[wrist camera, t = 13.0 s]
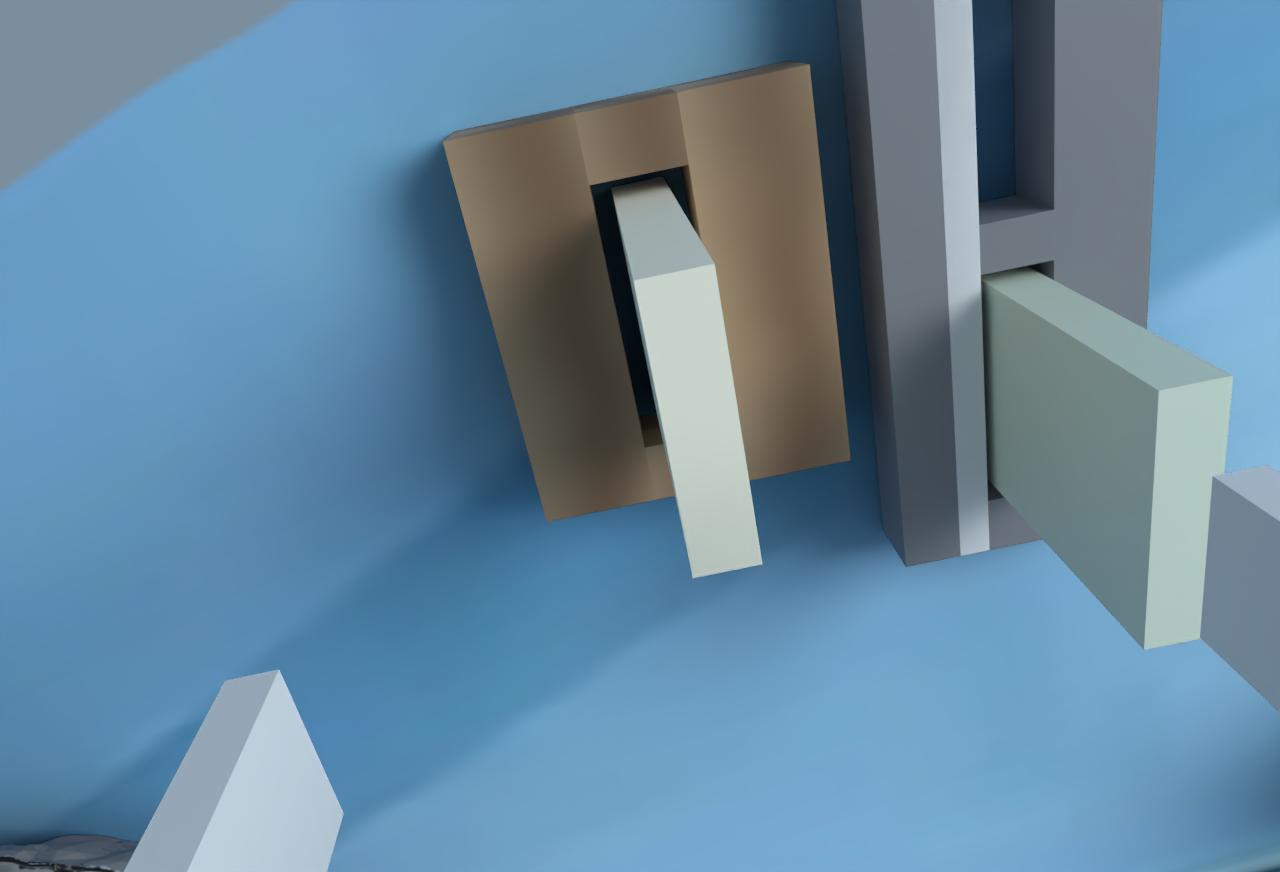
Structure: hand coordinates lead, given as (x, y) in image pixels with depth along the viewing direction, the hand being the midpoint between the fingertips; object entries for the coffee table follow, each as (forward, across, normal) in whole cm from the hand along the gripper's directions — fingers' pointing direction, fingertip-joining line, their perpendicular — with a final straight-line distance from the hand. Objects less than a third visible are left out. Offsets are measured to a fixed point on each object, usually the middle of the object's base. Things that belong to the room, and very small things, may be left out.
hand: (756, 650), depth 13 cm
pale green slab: (+18, 0, 0) cm, 18 cm away
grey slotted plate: (+18, -11, 0) cm, 21 cm away
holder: (+18, 0, 0) cm, 18 cm away
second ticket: (+18, -11, +4) cm, 21 cm away
